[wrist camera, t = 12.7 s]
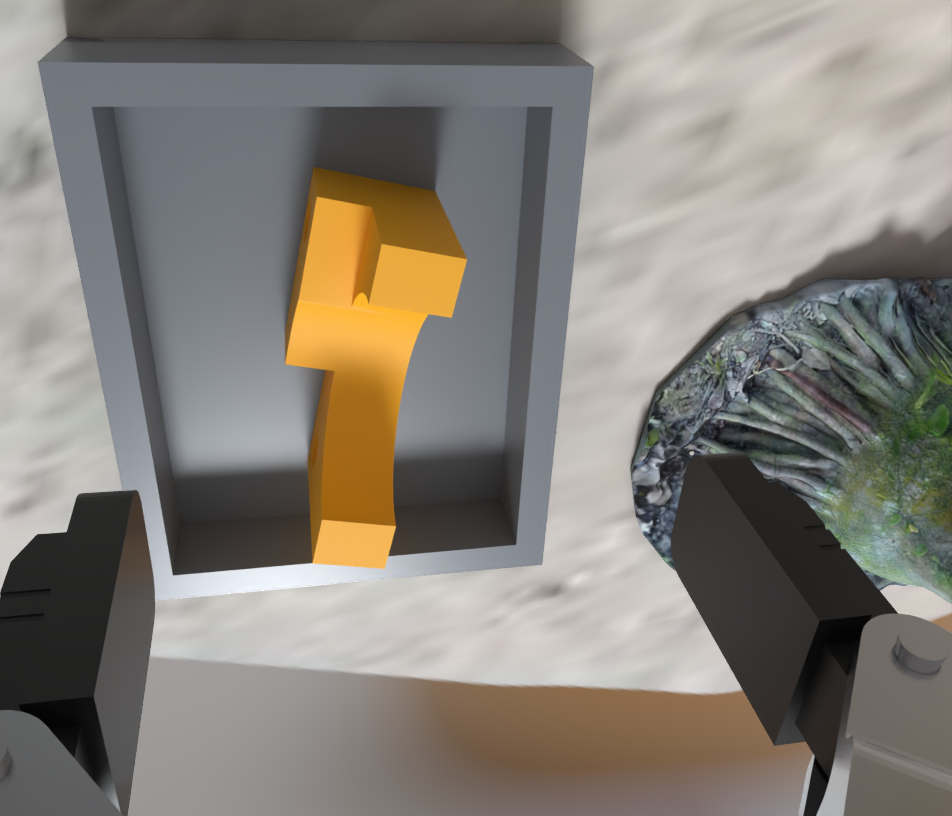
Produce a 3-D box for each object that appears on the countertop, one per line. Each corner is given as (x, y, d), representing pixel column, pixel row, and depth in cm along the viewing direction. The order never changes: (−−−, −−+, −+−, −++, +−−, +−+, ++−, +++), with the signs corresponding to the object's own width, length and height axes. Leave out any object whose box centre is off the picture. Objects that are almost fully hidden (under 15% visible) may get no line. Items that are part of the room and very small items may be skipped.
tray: (156, 536, 39) (144, 601, 35) (66, 37, 28) (37, 62, 25) (520, 507, 41) (542, 564, 38) (559, 43, 31) (593, 66, 28)
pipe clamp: (313, 166, 31) (320, 233, 26) (435, 191, 32) (467, 259, 27) (264, 455, 37) (261, 559, 31) (369, 466, 38) (384, 568, 32)
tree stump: (681, 230, 36) (1116, 457, 22) (997, 239, 45) (1449, 405, 31) (585, 591, 44) (860, 923, 30) (869, 538, 53) (1182, 776, 39)
